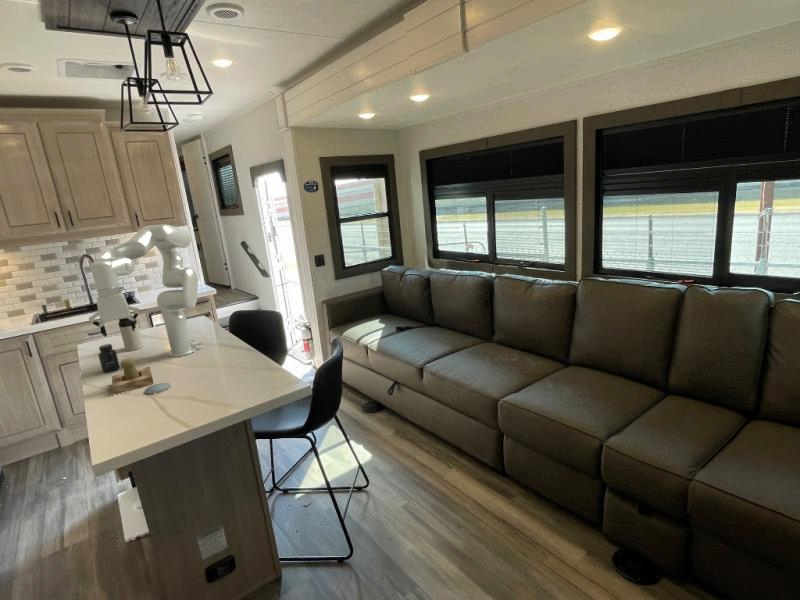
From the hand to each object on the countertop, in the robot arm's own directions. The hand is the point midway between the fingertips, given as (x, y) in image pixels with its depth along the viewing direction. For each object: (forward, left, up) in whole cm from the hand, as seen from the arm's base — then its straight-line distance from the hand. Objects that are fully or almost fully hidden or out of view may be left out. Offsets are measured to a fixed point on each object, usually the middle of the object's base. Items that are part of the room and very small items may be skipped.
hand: (119, 332), depth 172 cm
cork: (0, 0, -23) cm, 23 cm away
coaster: (-8, +14, -23) cm, 28 cm away
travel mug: (-2, -55, -23) cm, 60 cm away
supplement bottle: (+8, -27, -23) cm, 36 cm away
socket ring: (0, 0, -23) cm, 23 cm away
